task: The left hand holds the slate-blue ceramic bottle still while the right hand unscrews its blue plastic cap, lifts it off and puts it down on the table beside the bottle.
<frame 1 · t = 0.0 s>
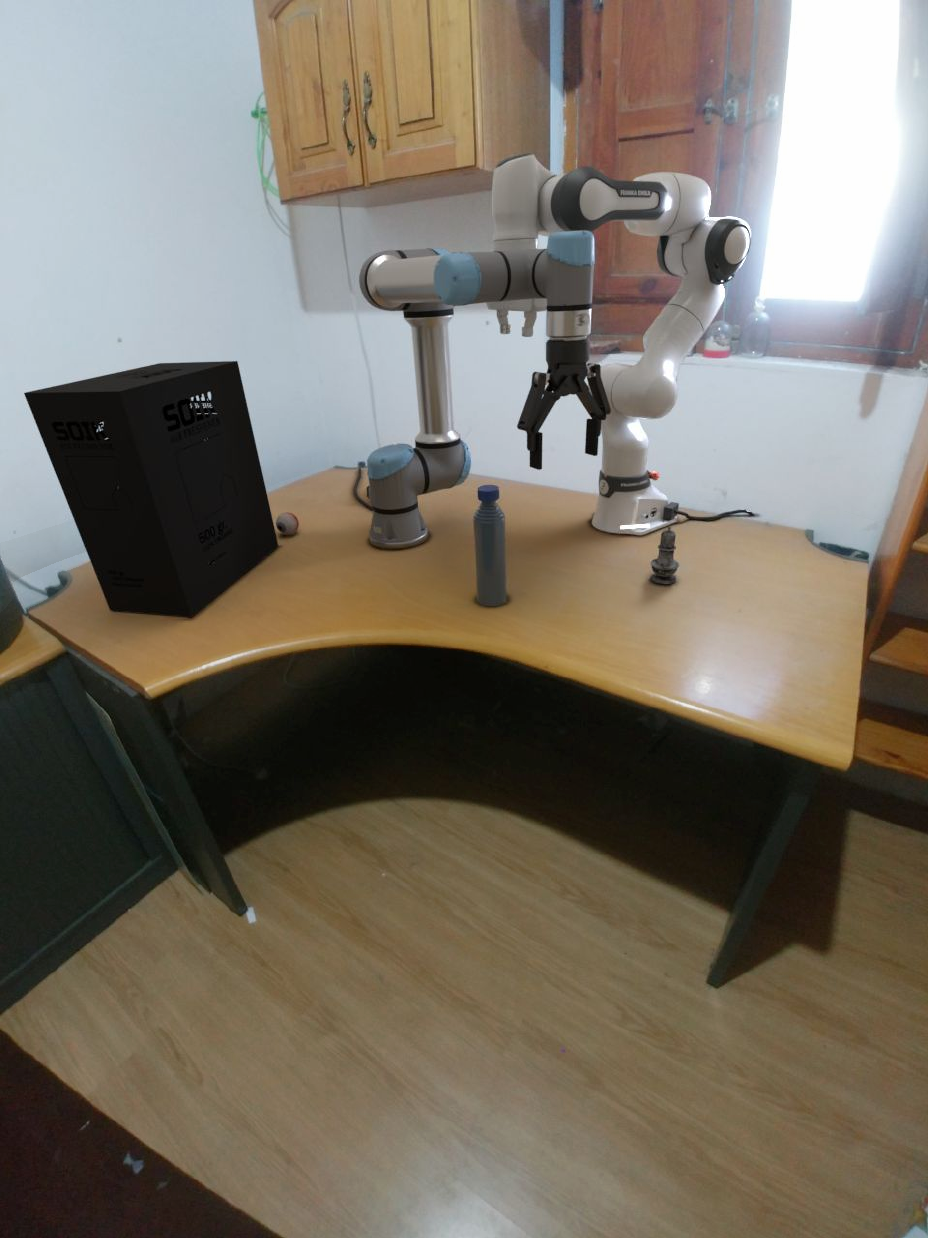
left hand: (564, 461, 114), 28 cm above the table, tool pointing down, fingers open, 13 cm apart
right hand: (516, 335, 125), 48 cm above the table, tool pointing down, fingers open, 8 cm apart
grey tapered ringed piece: (662, 579, 131), on the table
cardboard box: (202, 576, 144), on the table
cap: (488, 489, 115), point 24 cm above the table, screwed on, not yet turned
eyeball: (289, 534, 165), on the table
toy gun: (404, 493, 191), on the table
bottle: (491, 599, 127), on the table
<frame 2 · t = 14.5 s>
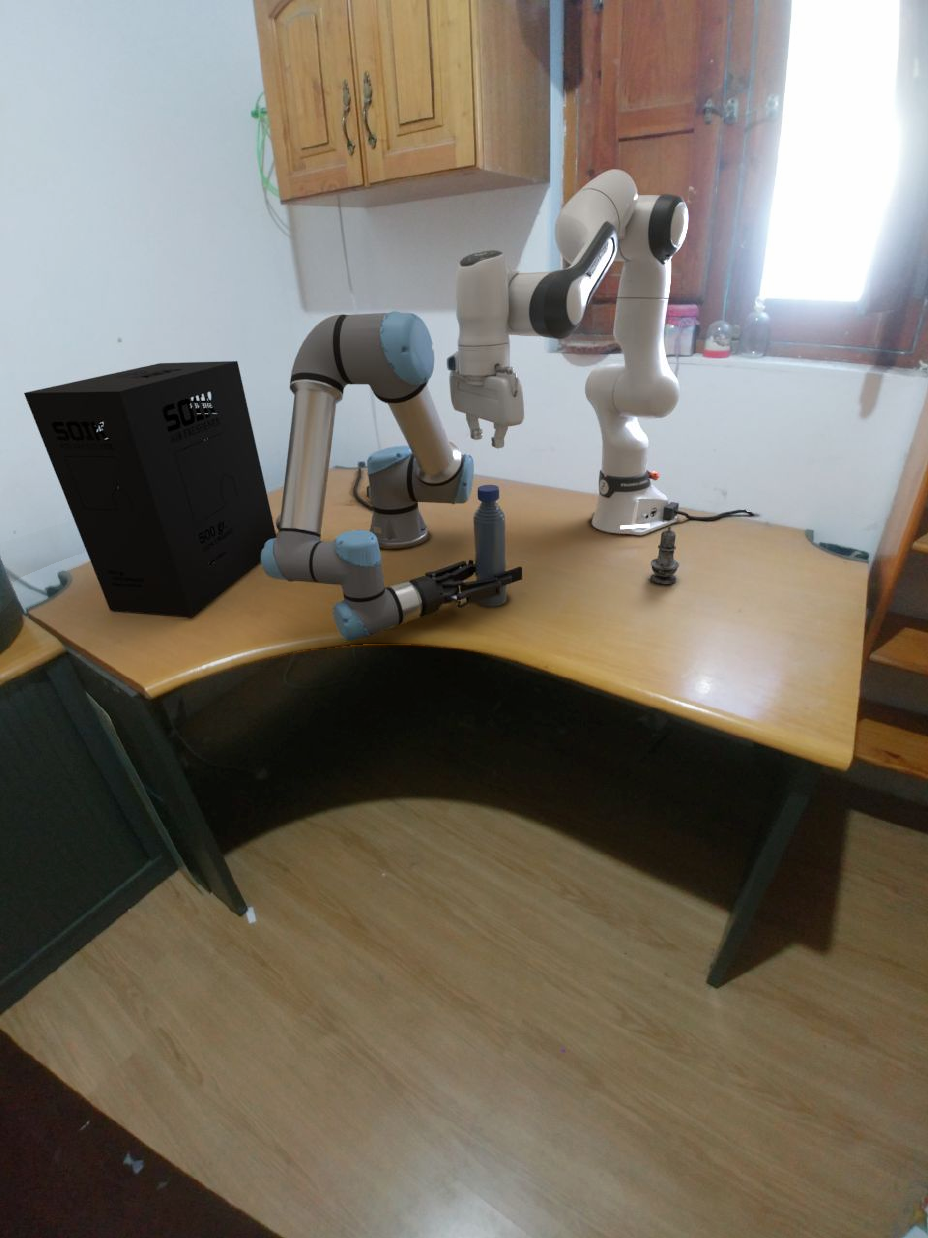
left hand: (510, 567, 126), 6 cm above the table, tool horizontal, fingers closed on bottle, 6 cm apart
right hand: (486, 443, 110), 33 cm above the table, tool pointing down, fingers open, 6 cm apart
bottle: (491, 599, 127), on the table, touching left hand
everything else where it was.
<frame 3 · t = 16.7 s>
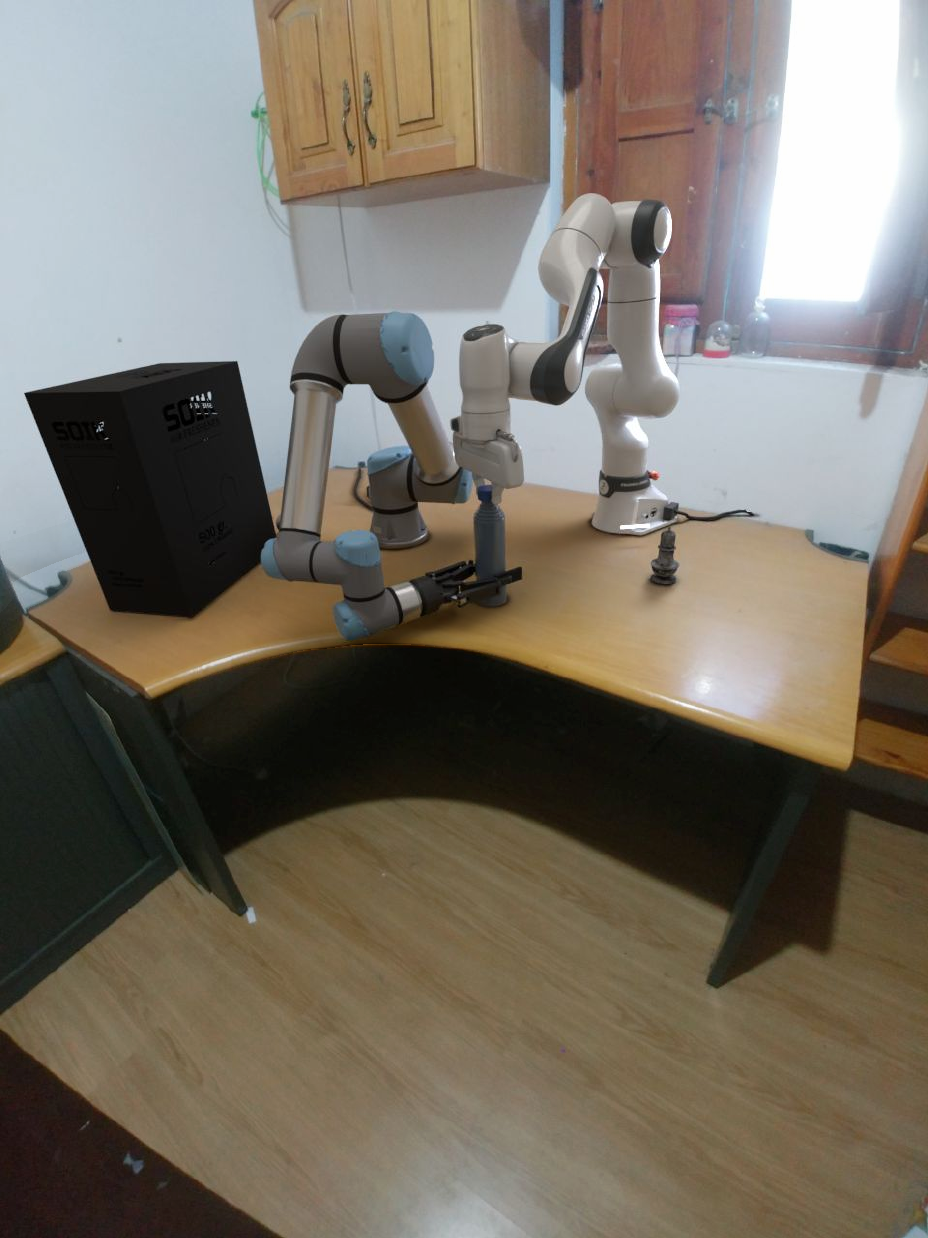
left hand: (510, 567, 126), 6 cm above the table, tool horizontal, fingers closed on bottle, 6 cm apart
right hand: (488, 499, 116), 22 cm above the table, tool pointing down, fingers closed on cap, 4 cm apart
cap: (488, 489, 115), point 24 cm above the table, screwed on, not yet turned, touching right hand
bottle: (491, 599, 127), on the table, touching left hand
everything else where it was.
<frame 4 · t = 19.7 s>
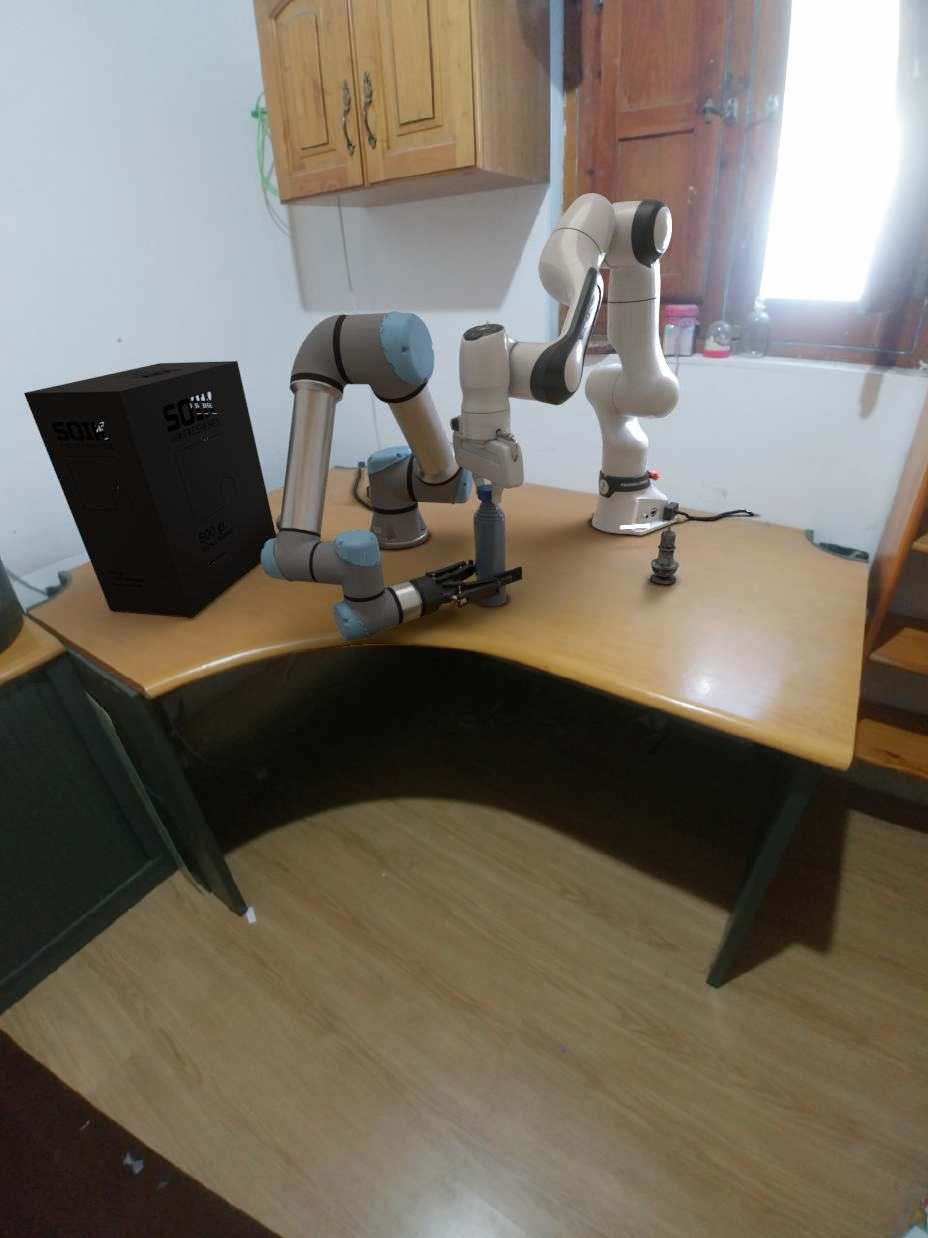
left hand: (510, 567, 126), 6 cm above the table, tool horizontal, fingers closed on bottle, 6 cm apart
right hand: (488, 498, 116), 22 cm above the table, tool pointing down, fingers closed on cap, 4 cm apart
cap: (488, 489, 115), point 24 cm above the table, turned 81° so far, risen 0.1 cm, still on its thread, touching right hand
bottle: (491, 599, 127), on the table, touching left hand
everything else where it was.
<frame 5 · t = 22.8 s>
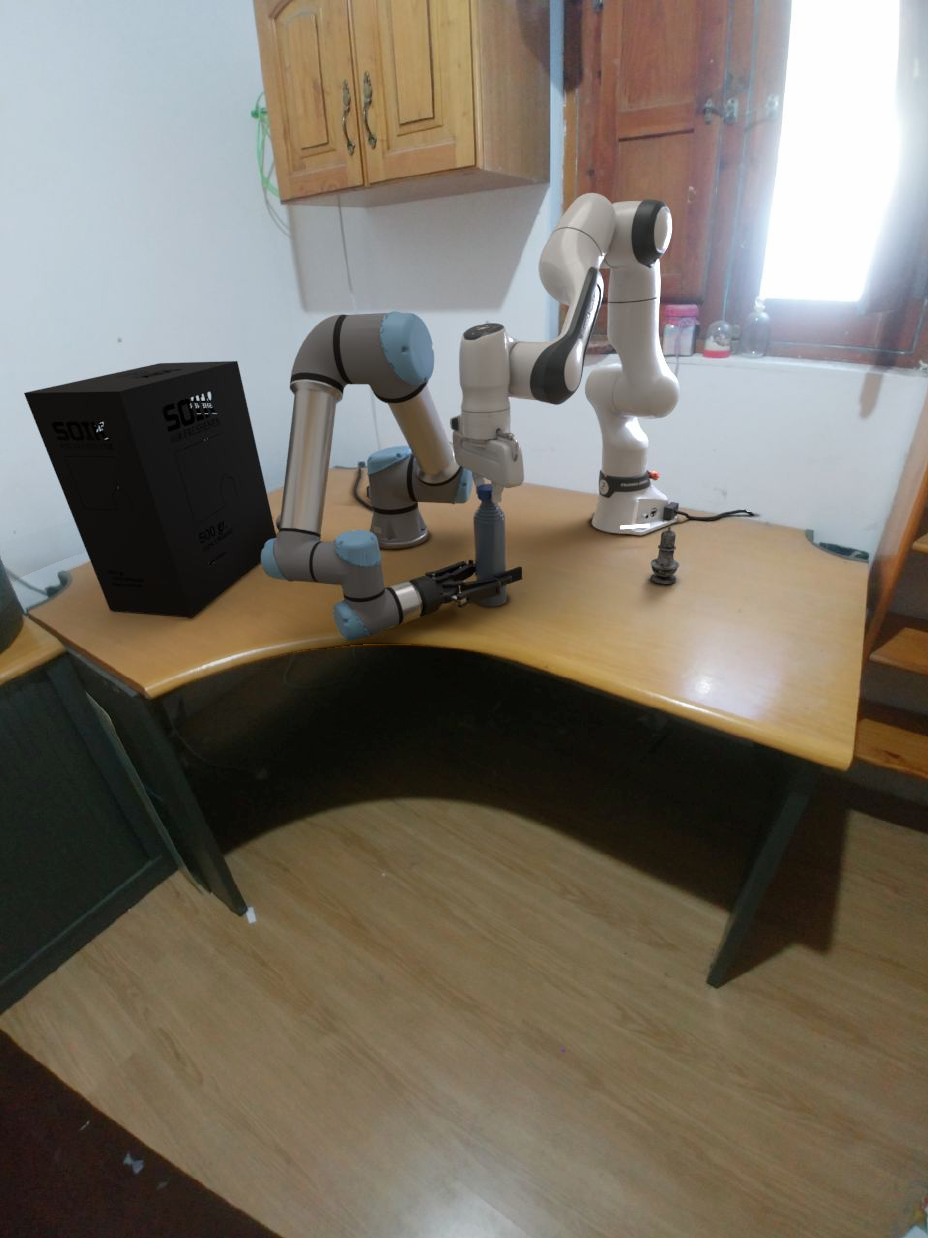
left hand: (510, 567, 126), 6 cm above the table, tool horizontal, fingers closed on bottle, 6 cm apart
right hand: (488, 498, 116), 22 cm above the table, tool pointing down, fingers closed on cap, 4 cm apart
cap: (488, 488, 115), point 24 cm above the table, turned 162° so far, risen 0.2 cm, still on its thread, touching right hand
bottle: (491, 599, 127), on the table, touching left hand
everything else where it was.
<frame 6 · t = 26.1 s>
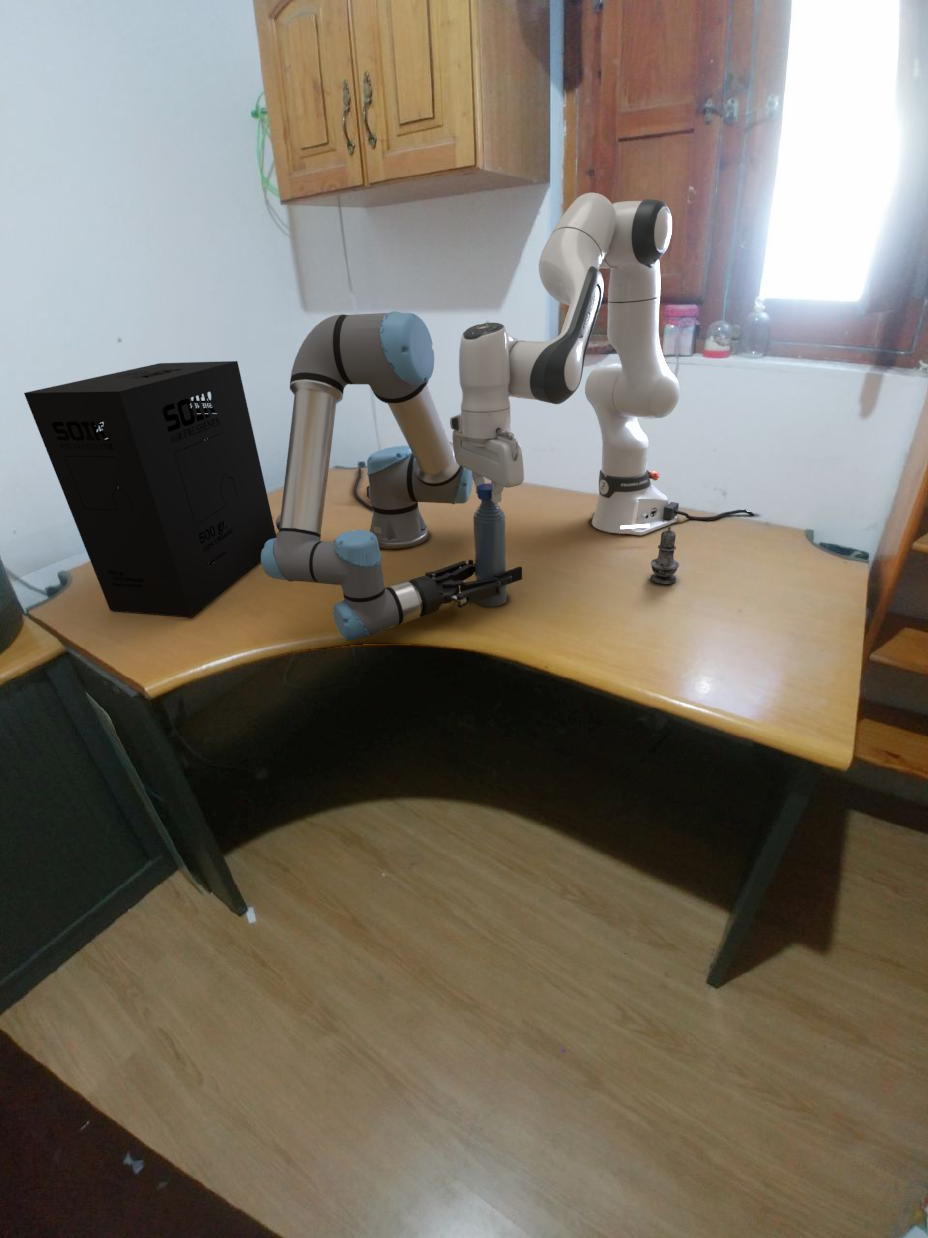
left hand: (510, 567, 126), 6 cm above the table, tool horizontal, fingers closed on bottle, 6 cm apart
right hand: (488, 497, 116), 22 cm above the table, tool pointing down, fingers closed on cap, 4 cm apart
cap: (488, 488, 115), point 24 cm above the table, turned 242° so far, risen 0.3 cm, still on its thread, touching right hand
bottle: (491, 599, 127), on the table, touching left hand
everything else where it was.
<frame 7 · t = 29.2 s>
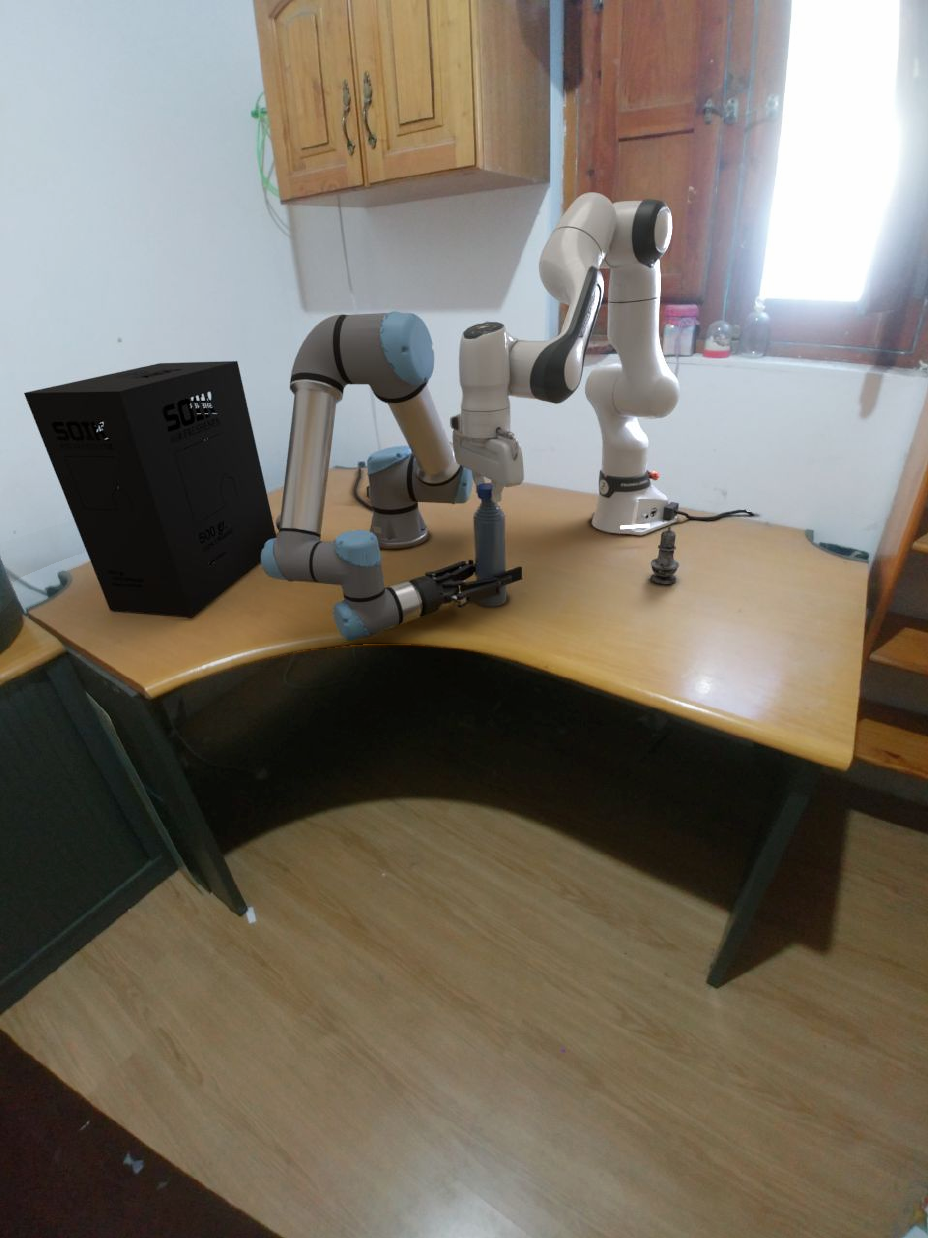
left hand: (510, 567, 126), 6 cm above the table, tool horizontal, fingers closed on bottle, 6 cm apart
right hand: (488, 497, 116), 22 cm above the table, tool pointing down, fingers closed on cap, 4 cm apart
cap: (488, 487, 115), point 24 cm above the table, turned 323° so far, risen 0.4 cm, still on its thread, touching right hand
bottle: (491, 599, 127), on the table, touching left hand
everything else where it was.
when the right hand's fingers open (2 cm above the table, at t = 35.6 s): cap drops 2 cm, point 2 cm above the table.
when the left hand's fingers open (6 cm above the table, at t = 36.6 s): bottle stays where it is, on the table.
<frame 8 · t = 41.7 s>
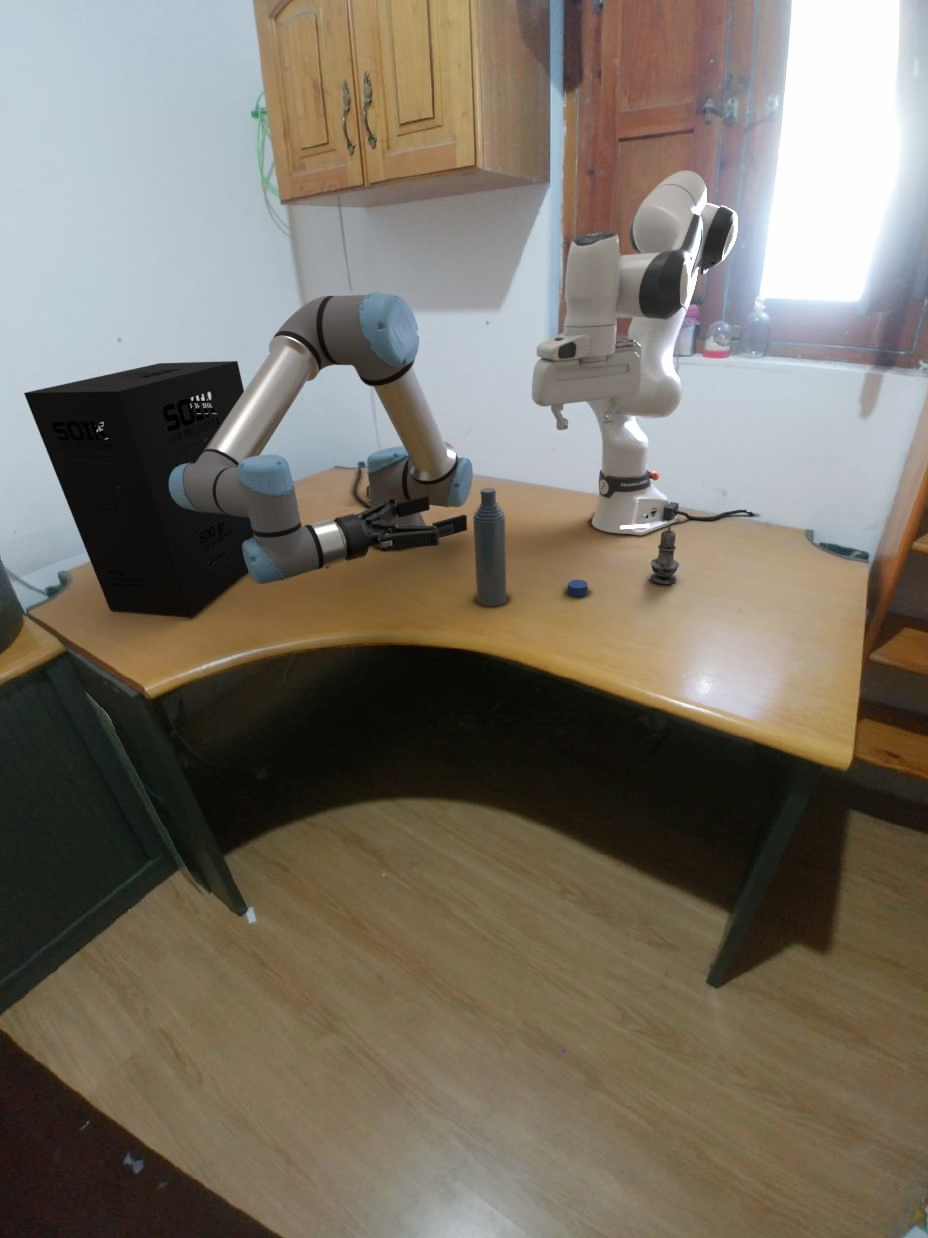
left hand: (446, 511, 112), 22 cm above the table, tool horizontal, fingers open, 13 cm apart
right hand: (585, 426, 110), 34 cm above the table, tool pointing down, fingers open, 8 cm apart
cap: (577, 585, 127), point 2 cm above the table, off its thread
bottle: (491, 599, 127), on the table
everything else where it was.
at the end: cap came off its thread; cap point 1.8 cm above the table; the left hand is holding nothing; the right hand is holding nothing; bottle tilted 0°; bottle moved 0.0 cm from its start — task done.
